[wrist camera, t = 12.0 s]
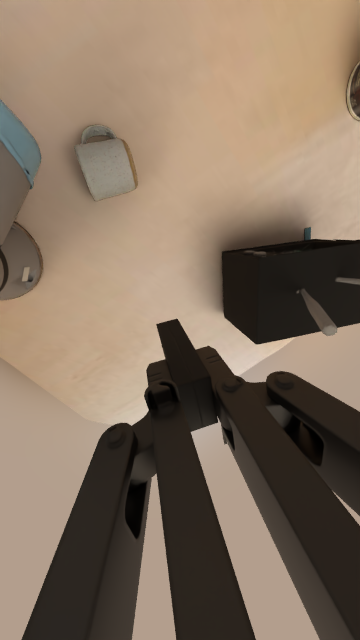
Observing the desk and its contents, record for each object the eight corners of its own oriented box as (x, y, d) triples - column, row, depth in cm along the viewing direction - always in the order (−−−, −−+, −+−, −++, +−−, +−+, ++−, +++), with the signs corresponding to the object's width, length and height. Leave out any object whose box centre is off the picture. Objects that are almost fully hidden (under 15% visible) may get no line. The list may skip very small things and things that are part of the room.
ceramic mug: (139, 193, 40) (140, 182, 33) (97, 205, 39) (89, 197, 32) (118, 123, 36) (114, 95, 29) (70, 135, 35) (55, 109, 28)
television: (309, 327, 56) (293, 251, 57) (492, 315, 26) (450, 157, 27) (226, 343, 52) (211, 262, 53) (327, 350, 22) (288, 167, 24)
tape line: (303, 306, 58) (303, 306, 57) (304, 228, 50) (305, 228, 49) (308, 305, 58) (308, 305, 58) (310, 227, 50) (310, 227, 50)
